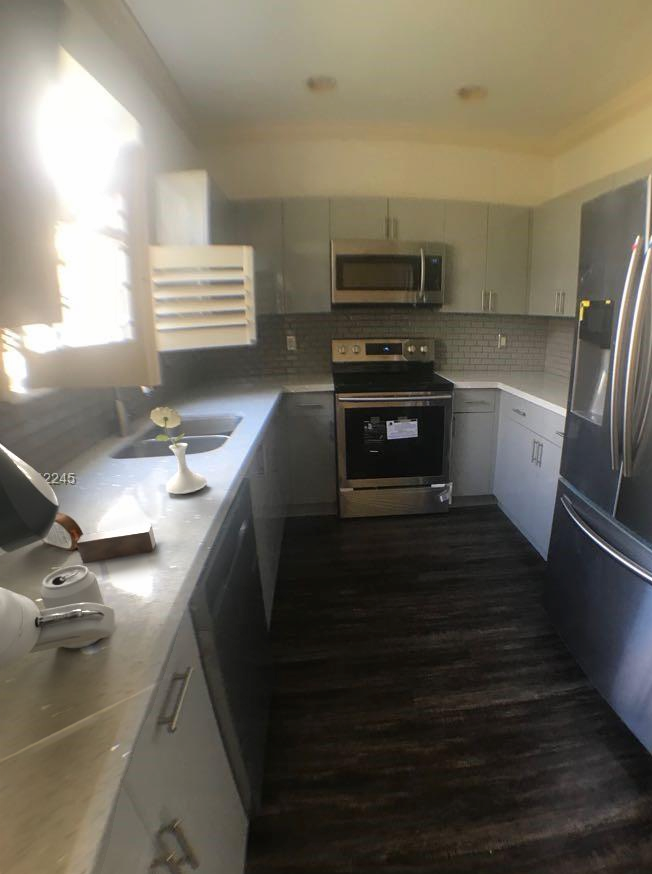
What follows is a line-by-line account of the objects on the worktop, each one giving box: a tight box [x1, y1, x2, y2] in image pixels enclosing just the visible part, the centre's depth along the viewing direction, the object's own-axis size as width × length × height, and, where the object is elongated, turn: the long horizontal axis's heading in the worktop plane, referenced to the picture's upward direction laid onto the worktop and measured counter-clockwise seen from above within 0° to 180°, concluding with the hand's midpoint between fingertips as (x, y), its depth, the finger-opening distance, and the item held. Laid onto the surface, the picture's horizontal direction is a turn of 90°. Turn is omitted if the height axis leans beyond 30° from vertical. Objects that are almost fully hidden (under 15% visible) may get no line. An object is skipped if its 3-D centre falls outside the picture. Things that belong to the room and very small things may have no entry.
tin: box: [40, 511, 84, 551], centre depth 105 cm, size 15×3×8 cm, turn 65°
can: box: [39, 564, 105, 649], centre depth 74 cm, size 8×8×12 cm
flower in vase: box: [149, 406, 208, 495], centre depth 132 cm, size 13×11×25 cm
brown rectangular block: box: [77, 523, 157, 564], centre depth 101 cm, size 14×4×5 cm, turn 108°
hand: (46, 643), depth 63 cm, fingers closed
